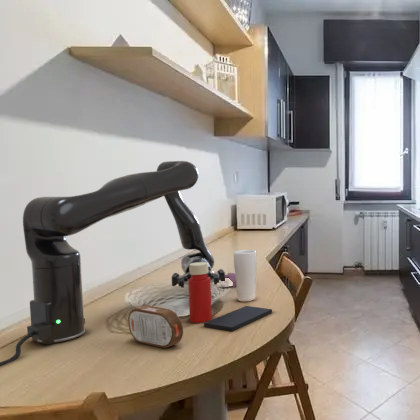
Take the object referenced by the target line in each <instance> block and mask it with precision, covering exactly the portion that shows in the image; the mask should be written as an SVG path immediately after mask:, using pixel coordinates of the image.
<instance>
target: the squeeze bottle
mask: <svg viewBox="0 0 420 420" xmlns="http://www.w3.org/2000/svg"><path fill="white" fill-rule="evenodd" d="M189 270H190V274H191V278H190V279H188V285H187V286H188V309H189V310H188V311H189V313H188V314H189V322H190V323H193V324H203V323H205V322H208V321H210V320H213V319H212V318H213V315H212V314H213V312H212V288H211V287H212V286H211V284H212V283H211V282H210V277H207V273H208V272H209V271H208V263H207V262H196V263H191V264H189Z"/></svg>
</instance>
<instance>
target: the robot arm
mask: <svg viewBox="0 0 420 420" xmlns="http://www.w3.org/2000/svg"><path fill="white" fill-rule="evenodd" d="M198 179H199V170H198V168H197V166H196V165H195V164H193V163H192V162H190V161H187V160H169V161H167V160H166V161H163V162H160V164H158V166H157V168H156V171H145V172H138V173H132V174H126V175H122V176H119V177H117V178H113V179H110V180H109V181H107V182H106V183H104V184H103V185H102V186H101V187H100V188H99V189H97V190H94V191H91V192H87V193H83V194H79V195H74V196H72V195H71V196H39V197H35V198H33V199H31V200H29V202H27V204H26V205H25V207H24V210H23V214H22V227H23V237H24V245H25V251H26V254H27V256H28V258H29V259H30V262H31V269H32V270H31V273H32V274H31V275H32V289H33V290H32V291H33V299H31V300H30V301H29V312H30V325H28V326H26V328H27V329H26V331H27V332H26V333H27V335H25V336H23V337H22V338H20V340H19V341H18V342H17V344H16V346H15V353H14V354H13V356H11V357H10V358H8V359H6V360H3V361H0V367H2V366H4V365H7V364H9V363H12V362H14V361H16V360H17V359H18V357H20V355H21V351H22V350H21V349H22V348H21V347H22V346H23V344H24V343H25V342H26V341H27V340H29V339H30V338H31V342H34V343H38V344H43V345H47V346H48V345H49V346H50V345H52V344H56V343H63V342H67V341H70V340H73V339H77V338H79V337H82V336H83V335H85V333H86V328H85V325H86V318H85V315H84V314H85V312H84V297H83V295H84V294H83V279H82V278H83V277H82V263H81V262H82V261H81V260H82V259H81V252H79V250H77V249H75V248H74V247H73V246H71V244H69V242H68V241H67V237H70V236H73V235H76V234H78V233H81V232H82V231H84V230H85V229H88V228H89V227H91V226H94V225H95V224H97V223H99V222H101V221H104V220H105V219H107V218H110V217H114V216H118V215H120V214H123V213H125V212H129V211H131V210H134V209H137V208H139V207H141V206H144V205H146V204H148V203H152V202H154V201H156V200H158V199H160V198H162V197H163V198H164V200H165V201H166V204H167V206H168V208H169V211H170V213H171V214H172V217H173V219H174V222H175V225H176V229H177V232H178V236H179V241H180V244H181V247H182V249H184V250H188V251H189V250H190V251H191V250H195V251H196V250H197V252H193V253H189V254H186V255H184V256H183V257H182V258H181V259H180V260H181V261H180V266H181V270H182V271H183V274H182V275H180V273H179V272H174V273H172V276H171V286H172V287H175V286H177V285H178V287H179V288H180V289H184V288H185V286H188V279H190V278H191V274H190V270H189V264H191V263H196V262H207V263H208V271H209V272H208V273H207V277H210V282H211V284H213V285H218V284H219V283H220V282H222V281H225V275H226V272H225V270H224V269H222V268H219V269H218V270H217V271H216V272H214V270H212V269H213V268H214V266H215V259H214V256H213V255H212V253H211V251H210V250H209V248H208V247H207V245H206V243H205V240H204V237H203V233H202V228H201V224H200V222H199V220H198V218H197V217H196V215H195V214H194V212H193V211H192V209H190V207H189V206H188V205H187V203H186V202H185V200H184V199H183V196H182V194H181V191H184V190H185V191H186V190H189V189H191V188H193V187H194V186H195V185H196V184H197V182H198Z"/></svg>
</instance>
